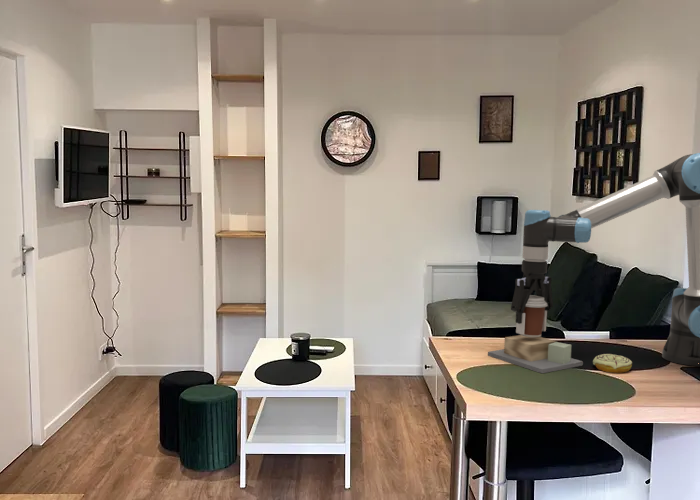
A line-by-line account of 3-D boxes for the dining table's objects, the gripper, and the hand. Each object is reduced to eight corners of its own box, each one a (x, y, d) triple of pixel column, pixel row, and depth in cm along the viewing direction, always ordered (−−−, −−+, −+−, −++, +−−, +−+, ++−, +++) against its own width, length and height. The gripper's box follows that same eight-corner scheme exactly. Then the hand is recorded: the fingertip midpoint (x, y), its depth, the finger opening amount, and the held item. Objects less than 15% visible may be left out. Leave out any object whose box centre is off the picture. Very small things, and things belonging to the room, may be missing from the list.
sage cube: (570, 360, 200) (571, 344, 199) (563, 364, 196) (564, 347, 195) (554, 357, 203) (555, 341, 202) (547, 360, 199) (548, 344, 199)
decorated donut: (586, 368, 198) (586, 355, 197) (605, 362, 204) (606, 350, 204) (618, 376, 190) (619, 363, 189) (637, 370, 196) (638, 358, 196)
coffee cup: (535, 339, 198) (537, 300, 197) (509, 334, 205) (511, 296, 204) (551, 335, 205) (553, 297, 203) (526, 330, 211) (528, 293, 210)
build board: (582, 365, 200) (582, 361, 199) (542, 373, 190) (542, 369, 190) (527, 348, 218) (527, 345, 218) (487, 355, 208) (487, 351, 208)
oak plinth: (555, 357, 204) (556, 341, 203) (530, 361, 198) (531, 345, 197) (528, 348, 213) (529, 333, 212) (503, 352, 207) (504, 337, 207)
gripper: (549, 257, 211) (545, 326, 214) (500, 260, 200) (497, 333, 202) (568, 259, 205) (564, 330, 207) (519, 263, 193) (515, 338, 196)
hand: (531, 331), depth 205 cm, fingers closed on coffee cup, 9 cm apart
